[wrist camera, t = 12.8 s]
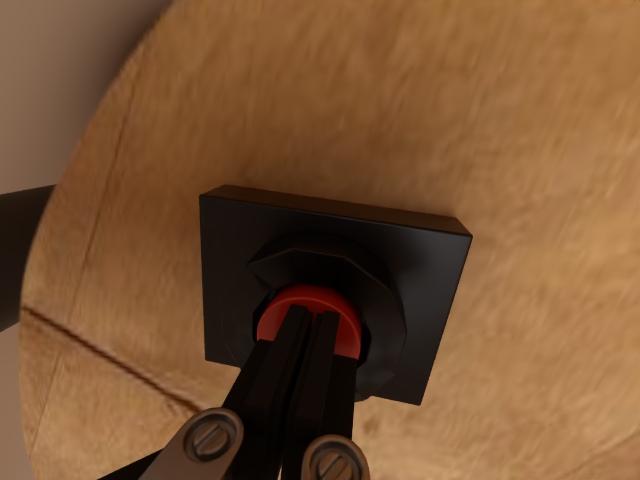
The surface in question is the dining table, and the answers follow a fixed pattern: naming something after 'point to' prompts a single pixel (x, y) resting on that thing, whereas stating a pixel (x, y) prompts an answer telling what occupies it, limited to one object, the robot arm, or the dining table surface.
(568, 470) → the dining table surface
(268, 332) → the button
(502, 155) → the dining table surface
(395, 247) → the button block
